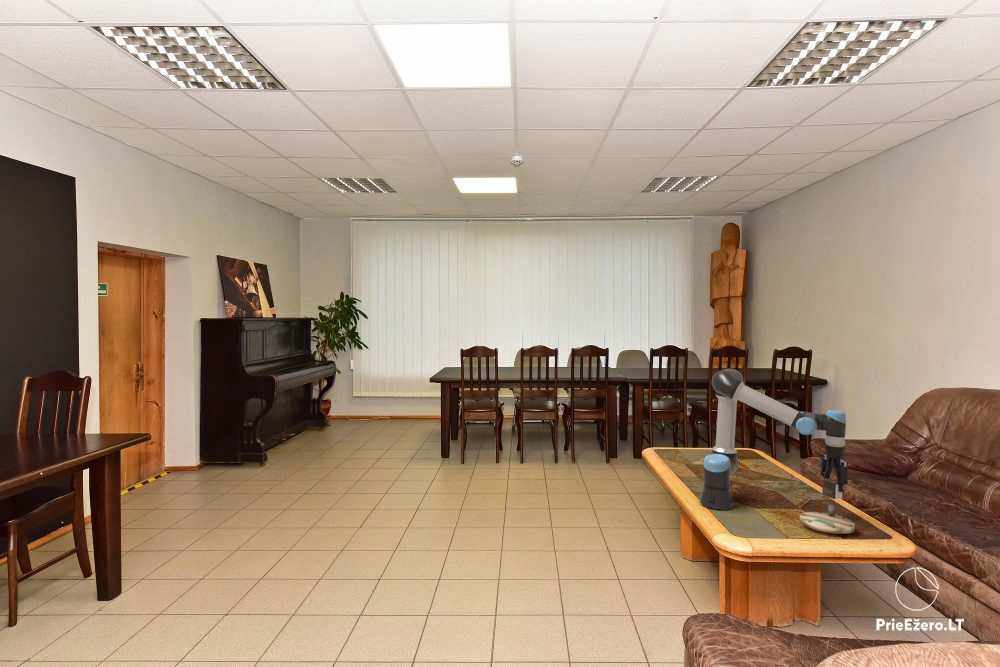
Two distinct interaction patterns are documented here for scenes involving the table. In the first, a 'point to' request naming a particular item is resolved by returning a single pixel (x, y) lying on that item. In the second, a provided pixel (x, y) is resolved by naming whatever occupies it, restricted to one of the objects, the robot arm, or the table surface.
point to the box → (830, 488)
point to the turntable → (827, 522)
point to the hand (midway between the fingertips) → (832, 495)
